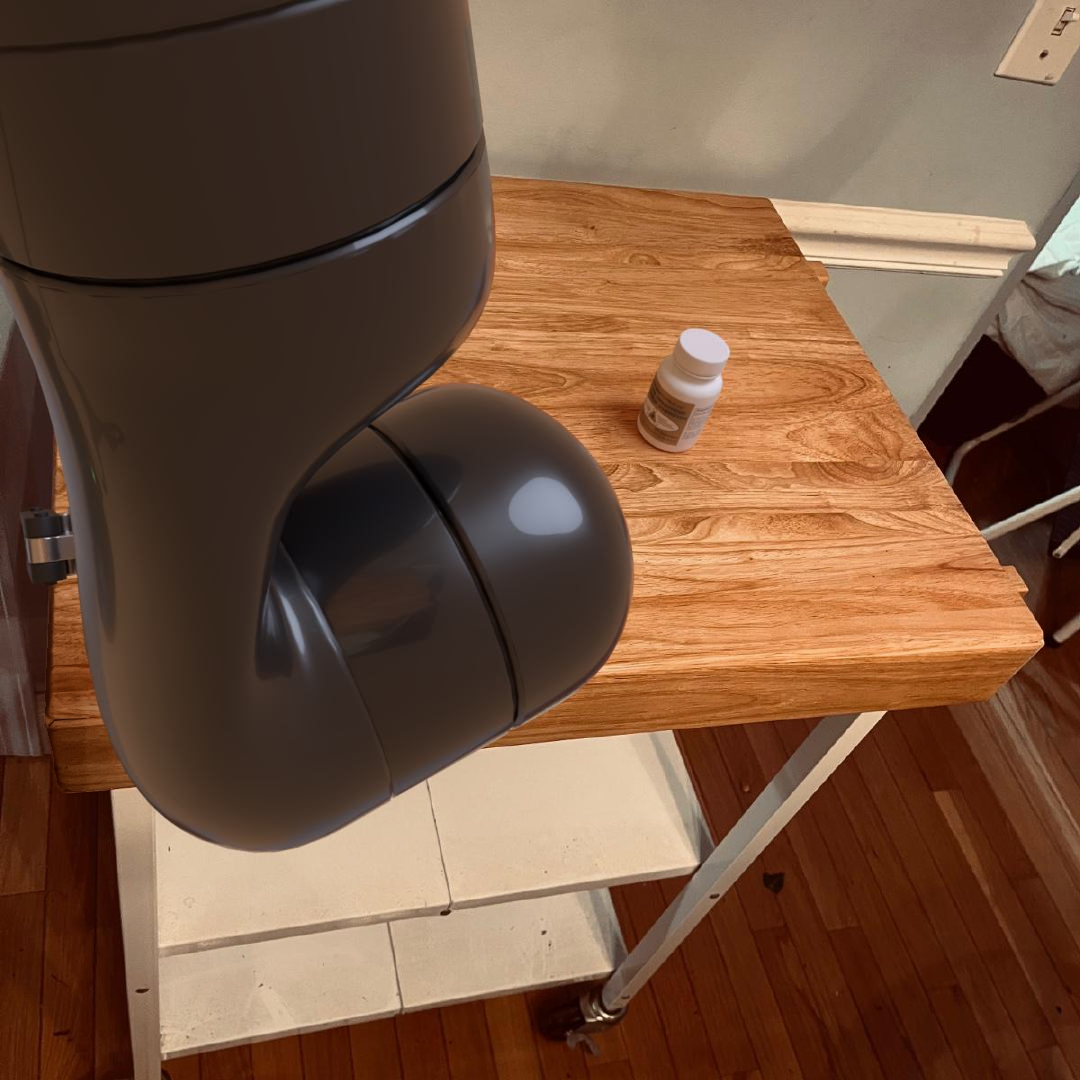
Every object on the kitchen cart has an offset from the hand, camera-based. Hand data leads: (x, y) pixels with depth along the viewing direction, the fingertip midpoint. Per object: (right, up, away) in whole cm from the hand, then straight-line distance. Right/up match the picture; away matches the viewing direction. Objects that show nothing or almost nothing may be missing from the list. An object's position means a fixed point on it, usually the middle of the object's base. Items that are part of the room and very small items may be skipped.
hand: (191, 516), depth 51 cm
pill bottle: (+25, +6, +23) cm, 35 cm away
